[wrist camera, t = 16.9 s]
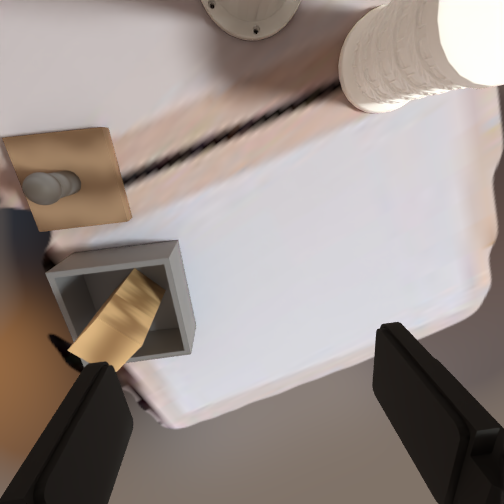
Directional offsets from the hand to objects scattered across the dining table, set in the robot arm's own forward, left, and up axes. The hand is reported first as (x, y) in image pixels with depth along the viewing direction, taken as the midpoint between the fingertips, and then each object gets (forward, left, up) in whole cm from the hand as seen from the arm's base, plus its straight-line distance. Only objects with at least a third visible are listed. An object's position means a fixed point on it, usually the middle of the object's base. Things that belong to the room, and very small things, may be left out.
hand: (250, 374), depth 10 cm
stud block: (-5, -21, -33) cm, 40 cm away
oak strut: (+12, -17, -32) cm, 38 cm away
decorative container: (-15, +21, -34) cm, 42 cm away
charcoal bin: (+13, -17, -33) cm, 40 cm away
